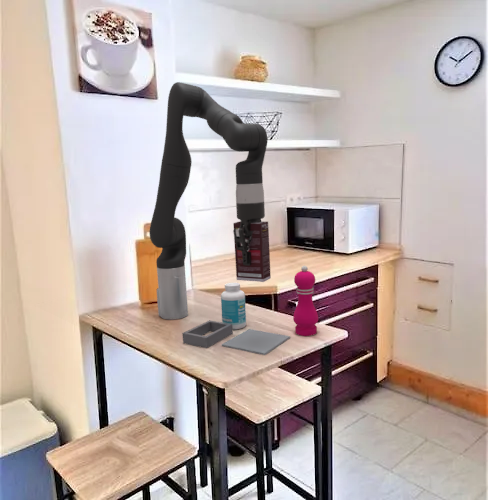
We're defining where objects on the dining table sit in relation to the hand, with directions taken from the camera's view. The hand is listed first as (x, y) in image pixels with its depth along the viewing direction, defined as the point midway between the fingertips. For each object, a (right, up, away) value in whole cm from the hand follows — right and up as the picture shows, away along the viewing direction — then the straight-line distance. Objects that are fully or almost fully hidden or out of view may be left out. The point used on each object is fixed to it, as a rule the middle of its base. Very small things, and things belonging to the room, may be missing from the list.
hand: (252, 263), depth 127 cm
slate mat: (+1, -22, +4) cm, 23 cm away
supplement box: (0, -5, +1) cm, 5 cm away
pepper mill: (+16, -21, +9) cm, 28 cm away
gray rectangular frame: (-13, -22, +8) cm, 27 cm away
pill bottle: (-5, -20, +18) cm, 28 cm away
